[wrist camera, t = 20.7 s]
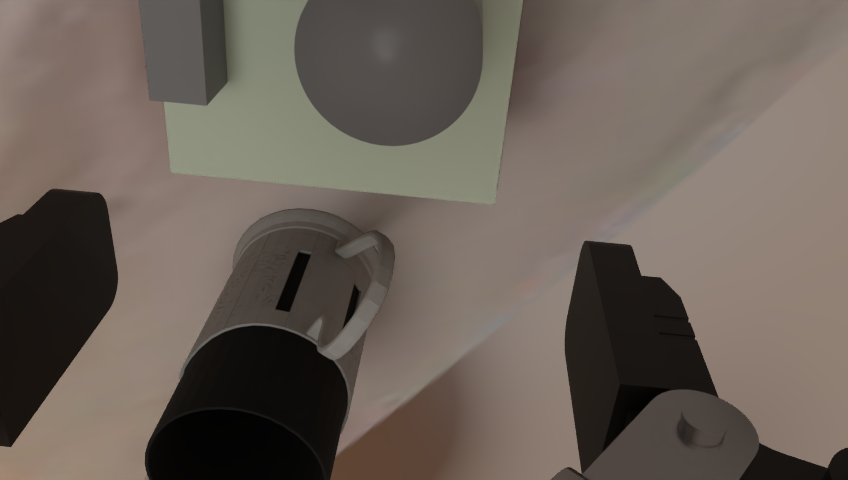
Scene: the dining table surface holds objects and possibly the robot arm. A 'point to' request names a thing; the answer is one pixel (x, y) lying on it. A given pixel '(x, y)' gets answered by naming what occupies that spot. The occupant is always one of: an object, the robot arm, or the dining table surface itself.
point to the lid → (307, 105)
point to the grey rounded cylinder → (390, 65)
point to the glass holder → (276, 355)
